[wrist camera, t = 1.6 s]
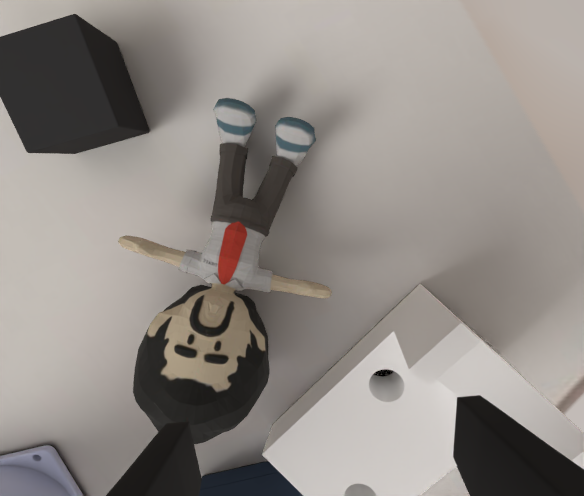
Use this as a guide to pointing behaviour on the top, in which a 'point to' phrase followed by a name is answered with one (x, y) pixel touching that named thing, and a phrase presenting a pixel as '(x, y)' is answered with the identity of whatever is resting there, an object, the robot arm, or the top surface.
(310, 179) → the top surface
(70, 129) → the black block
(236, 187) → the figurine
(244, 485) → the blue square tray
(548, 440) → the bracket
